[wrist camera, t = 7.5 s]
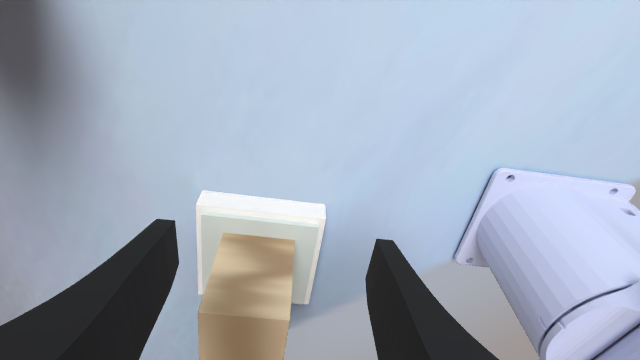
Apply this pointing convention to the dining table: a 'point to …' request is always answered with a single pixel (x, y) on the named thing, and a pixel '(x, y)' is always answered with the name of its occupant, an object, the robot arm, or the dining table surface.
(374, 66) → the dining table surface
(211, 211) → the tray
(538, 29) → the dining table surface
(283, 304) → the oak block
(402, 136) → the dining table surface
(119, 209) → the dining table surface
